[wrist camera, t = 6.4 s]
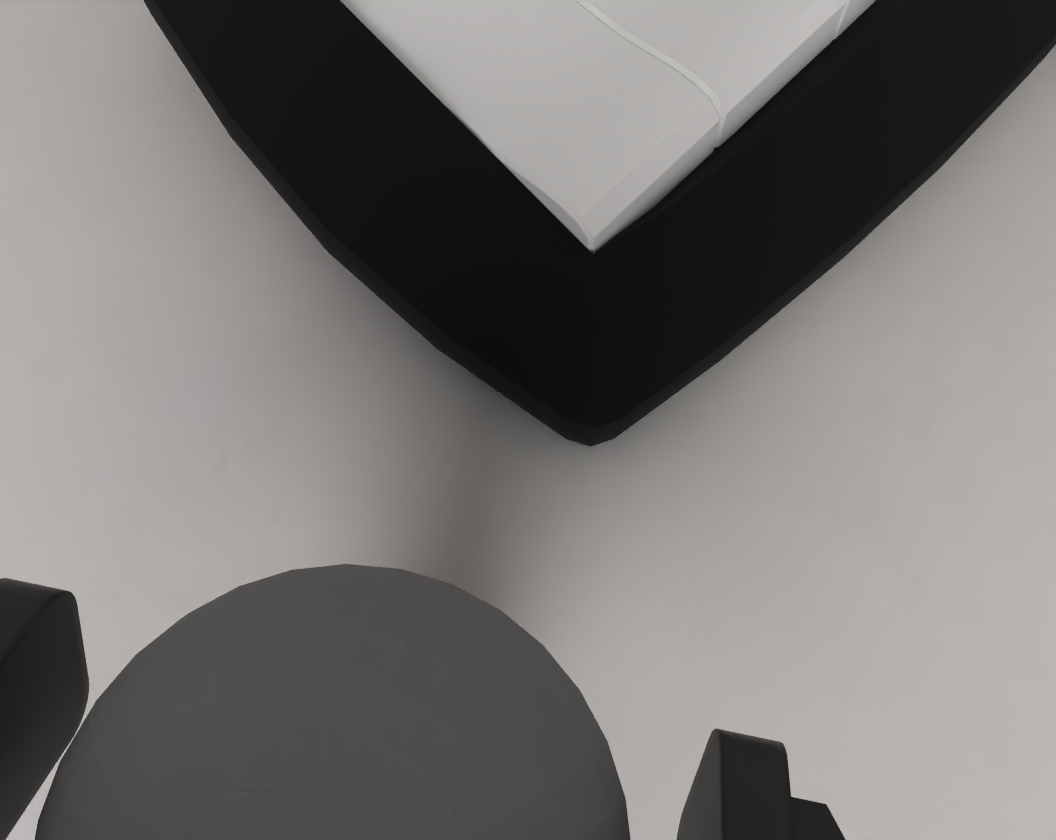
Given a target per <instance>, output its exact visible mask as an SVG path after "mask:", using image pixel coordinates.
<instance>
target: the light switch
mask: <svg viewBox="0 0 1056 840" xmlns="http://www.w3.org/2000/svg"><path fill="white" fill-rule="evenodd" d="M144 2H145V4H146V6H147V7H148V9H149V11H150V13H151V15H152V16H153V18H154V19H155V21H156V22H157V24H158V25H159V27H160V28H161V30H162V32H163V33H164V35H165V36H166V38H167V39H168V41H169V42H170V44H171V45H172V47H173V48H174V50H175V52H176V53H177V55H178V56H179V58H180V59H181V61H182V62H183V64H184V65H185V67H186V68H187V70H188V72H189V73H190V75H191V76H192V78H193V79H194V81H195V82H196V84H197V85H198V87H199V88H200V90H201V92H202V93H203V95H204V96H205V98H206V99H207V101H208V102H209V104H210V105H211V107H212V108H213V110H214V112H215V113H216V115H217V116H218V118H219V119H220V121H221V122H222V124H223V125H224V127H225V128H226V130H227V132H228V133H229V135H230V136H231V138H232V139H233V140H234V141H235V142H236V143H237V145H238V146H239V147H240V148H241V149H242V151H243V152H244V153H245V154H246V155H247V157H248V158H249V159H250V160H251V161H252V162H253V164H254V165H255V166H256V167H257V168H258V170H259V171H260V172H261V173H262V174H263V175H264V177H265V178H266V179H267V180H268V181H269V183H270V184H271V185H272V186H273V187H274V189H275V190H276V191H277V192H278V193H279V194H280V196H281V197H282V198H283V199H284V200H285V202H286V203H287V204H288V205H289V206H290V207H291V209H292V210H293V211H294V212H295V213H296V215H297V216H298V217H299V218H300V219H301V221H302V222H303V223H304V224H305V225H306V226H307V228H308V229H309V230H310V231H311V232H312V234H313V235H314V236H315V237H316V238H317V239H318V241H319V242H320V243H321V244H322V245H323V247H324V248H325V249H326V250H327V251H328V252H329V253H330V254H331V255H332V256H333V257H334V258H335V259H337V260H338V261H339V262H340V263H341V264H342V265H343V266H344V267H346V268H347V269H348V270H349V271H350V272H351V273H352V274H353V275H355V276H356V277H357V278H358V279H359V280H360V281H361V282H362V283H364V284H365V285H366V286H367V287H368V288H369V289H370V290H371V291H373V292H374V293H375V294H376V295H377V296H378V297H379V298H381V299H382V300H383V301H384V302H385V303H386V304H387V305H388V306H390V307H391V308H392V309H393V310H394V311H395V312H396V313H397V314H399V315H400V316H401V317H402V318H403V319H404V320H405V321H406V322H408V323H409V324H410V325H411V326H412V327H413V328H414V329H416V330H417V331H418V332H419V333H420V334H421V335H422V336H423V337H425V338H426V339H427V340H428V341H429V342H430V343H431V344H432V345H434V346H435V347H436V348H437V349H438V350H440V351H441V352H443V353H444V354H446V355H447V356H448V357H450V358H451V359H453V360H454V361H456V362H457V363H458V364H460V365H461V366H463V367H464V368H466V369H467V370H468V371H470V372H471V373H473V374H474V375H476V376H477V377H478V378H480V379H481V380H483V381H484V382H486V383H487V384H488V385H490V386H491V387H493V388H494V389H496V390H497V391H498V392H500V393H501V394H503V395H504V396H506V397H507V398H508V399H510V400H511V401H513V402H514V403H516V404H517V405H519V406H520V407H521V408H523V409H524V410H526V411H527V412H529V413H530V414H531V415H533V416H534V417H536V418H537V419H539V420H540V421H541V422H543V423H544V424H546V425H547V426H549V427H550V428H551V429H553V430H554V431H556V432H557V433H559V434H560V435H561V436H563V437H564V438H566V439H568V440H572V441H575V442H578V443H581V444H584V445H588V446H593V445H596V444H599V443H602V442H605V441H608V440H611V439H614V438H615V437H617V436H618V435H619V434H621V433H622V432H624V431H625V430H626V429H628V428H629V427H630V426H632V425H633V424H634V423H636V422H637V421H638V420H640V419H641V418H643V417H644V416H645V415H647V414H648V413H649V412H651V411H652V410H653V409H655V408H656V407H658V406H659V405H660V404H662V403H663V402H664V401H666V400H667V399H668V398H670V397H671V396H672V395H674V394H675V393H677V392H678V391H679V390H681V389H682V388H683V387H685V386H686V385H687V384H689V383H690V382H691V381H693V380H694V379H696V378H697V377H698V376H700V375H701V374H702V373H704V372H705V371H706V370H708V369H709V368H710V367H712V366H713V365H715V364H716V363H717V362H719V361H720V360H721V359H723V358H724V357H725V356H726V355H727V354H729V353H730V352H731V351H732V350H733V349H735V348H736V347H737V346H738V345H739V344H741V343H742V342H743V341H744V340H745V339H747V338H748V337H749V336H750V335H751V334H753V333H754V332H755V331H756V330H757V329H759V328H760V327H761V326H762V325H763V324H765V323H766V322H767V321H768V320H769V319H771V318H772V317H773V316H774V315H775V314H777V313H778V312H779V311H780V310H781V309H783V308H784V307H785V306H786V305H787V304H789V303H790V302H791V301H792V300H793V299H795V298H796V297H797V296H798V295H799V294H801V293H802V292H803V291H804V290H805V289H807V288H808V287H809V286H810V285H811V284H813V283H814V282H815V281H816V280H817V279H819V278H820V277H821V276H822V275H823V274H825V273H826V272H827V271H828V270H829V269H831V268H832V267H833V266H834V265H835V264H837V263H838V262H839V261H840V260H841V259H843V258H844V257H845V256H846V255H847V254H848V253H849V252H850V251H851V250H852V249H853V248H854V247H855V246H857V245H858V244H859V243H860V242H861V241H862V240H863V239H864V238H865V237H866V236H867V235H868V234H869V233H870V232H872V231H873V230H874V229H875V228H876V227H877V226H878V225H879V224H880V223H881V222H882V221H883V220H884V219H886V218H887V217H888V216H889V215H890V214H891V213H892V212H893V211H894V210H895V209H896V208H897V207H898V206H899V205H901V204H902V203H903V202H904V201H905V200H906V199H907V198H908V197H909V196H910V195H911V194H912V193H913V192H915V191H916V190H917V189H918V188H919V187H920V186H921V185H922V184H923V183H924V182H925V181H926V180H927V179H929V178H930V177H931V176H932V175H933V174H934V173H935V172H936V171H937V170H938V169H939V168H940V167H941V166H942V165H943V164H944V163H945V162H946V161H947V160H948V159H949V158H950V157H951V156H952V155H953V154H954V153H955V152H956V151H957V150H958V148H959V147H960V146H961V145H962V144H963V143H964V142H965V141H966V140H967V139H968V138H969V137H970V136H971V135H972V134H973V133H974V132H975V131H976V130H977V128H978V127H979V126H980V125H981V124H982V123H983V122H984V121H985V120H986V119H987V118H988V117H989V116H990V115H991V114H992V113H993V112H994V111H995V110H996V108H997V107H998V106H999V105H1000V104H1001V103H1002V102H1003V101H1004V100H1005V99H1006V98H1007V97H1008V96H1009V95H1010V94H1011V93H1012V92H1013V91H1014V90H1015V89H1016V87H1017V86H1018V85H1019V84H1020V83H1021V82H1022V81H1023V80H1024V79H1025V78H1026V77H1027V76H1028V75H1029V74H1030V73H1031V72H1032V71H1033V69H1034V68H1035V67H1036V66H1037V65H1038V64H1039V63H1040V62H1041V61H1042V60H1043V59H1044V57H1045V56H1046V55H1047V54H1048V53H1049V52H1050V50H1051V49H1052V48H1053V47H1054V46H1055V45H1056V0H144Z"/></svg>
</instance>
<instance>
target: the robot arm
mask: <svg viewBox="0 0 1056 840" xmlns="http://www.w3.org/2000/svg"><path fill="white" fill-rule="evenodd" d="M88 693H89V678H88V672H87V665H86V659H85V652H84V646H83V639H82V633H81V626H80V620H79V613H78V607H77V602H76V599H75V597H74V595H73V594H72V593H71V592H69V591H65V590H61V589H56V588H51V587H46V586H42V585H37V584H32V583H27V582H22V581H18V580H13V579H8V578H3V579H0V840H6V838H7V837H8V835H9V833H10V832H11V830H12V829H13V827H14V826H15V824H16V823H17V821H18V820H19V818H20V817H21V815H22V814H23V812H24V811H25V809H26V808H27V806H28V805H29V803H30V802H31V800H32V799H33V797H34V796H35V794H36V793H37V791H38V790H39V788H40V787H41V785H42V784H43V782H44V781H45V779H46V778H47V776H48V775H49V773H50V772H51V770H52V768H53V767H54V765H55V764H56V762H57V761H58V759H59V758H60V756H61V755H62V753H63V752H64V750H65V749H66V747H67V746H68V744H69V743H70V741H71V740H72V738H73V736H74V735H75V733H76V731H77V729H78V727H79V725H80V722H81V720H82V717H83V715H84V712H85V708H86V704H87V700H88ZM677 840H845V838H844V836H843V834H842V833H841V831H840V829H839V827H838V825H837V823H836V821H835V820H834V818H833V816H832V814H831V812H830V810H829V809H828V807H827V805H826V804H822V803H817V802H813V801H808V800H803V799H798V798H794V797H791V792H790V781H789V770H788V760H787V753H786V749H785V747H784V745H783V743H781V742H778V741H773V740H768V739H763V738H759V737H754V736H749V735H744V734H739V733H735V732H730V731H725V730H720V729H714V730H713V731H712V733H711V735H710V737H709V740H708V743H707V745H706V748H705V751H704V754H703V756H702V759H701V762H700V765H699V767H698V770H697V773H696V776H695V779H694V781H693V784H692V787H691V790H690V792H689V795H688V798H687V801H686V803H685V806H684V809H683V812H682V816H681V820H680V824H679V829H678V834H677Z"/></svg>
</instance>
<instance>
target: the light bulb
mask: <svg viewBox="0 0 1056 840" xmlns="http://www.w3.org/2000/svg"><path fill="white" fill-rule="evenodd" d="M35 840H630V833H629V824H628V816H627V808H626V800H625V796H624V793H623V790H622V786H621V783H620V780H619V777H618V774H617V771H616V767H615V764H614V761H613V758H612V755H611V751H610V748H609V745H608V742H607V740H606V738H605V736H604V734H603V732H602V731H601V729H600V727H599V725H598V723H597V721H596V719H595V718H594V716H593V714H592V712H591V710H590V708H589V706H588V705H587V703H586V701H585V699H584V697H583V695H582V693H581V692H580V690H579V689H578V687H577V686H576V685H575V684H574V682H573V681H572V680H571V679H570V678H569V676H568V675H567V674H566V673H565V671H564V670H563V669H562V668H561V667H560V665H559V664H558V663H557V662H556V660H555V659H554V658H553V657H552V656H551V654H550V653H549V652H548V651H547V649H546V648H545V647H544V646H543V645H542V644H541V643H540V642H538V641H537V640H536V639H535V638H534V637H532V636H531V635H530V634H529V633H527V632H526V631H525V630H524V629H523V628H521V627H520V626H519V625H518V624H517V623H515V622H514V621H513V620H512V619H510V618H509V617H508V616H507V615H506V614H504V613H503V612H502V611H501V610H499V609H497V608H495V607H493V606H491V605H489V604H488V603H486V602H484V601H482V600H480V599H478V598H476V597H474V596H473V595H471V594H469V593H467V592H465V591H463V590H461V589H460V588H458V587H456V586H454V585H452V584H449V583H445V582H442V581H438V580H435V579H432V578H428V577H425V576H422V575H418V574H415V573H412V572H408V571H405V570H402V569H394V568H383V567H372V566H361V565H350V564H343V565H334V566H324V567H315V568H306V569H297V570H290V571H287V572H284V573H281V574H277V575H274V576H271V577H268V578H264V579H261V580H258V581H255V582H252V583H248V584H245V585H242V586H239V587H237V588H235V589H233V590H231V591H229V592H228V593H226V594H224V595H222V596H220V597H218V598H216V599H214V600H213V601H211V602H209V603H207V604H205V605H203V606H201V607H200V608H198V609H196V610H194V611H192V612H190V613H188V614H187V615H186V616H184V617H183V618H181V619H180V620H179V621H178V622H176V623H175V624H174V625H173V626H171V627H170V628H169V629H168V630H166V631H165V632H164V633H163V634H161V635H160V636H159V637H158V638H156V639H155V640H154V641H153V642H151V643H150V644H149V645H148V646H146V647H145V648H144V649H143V650H141V651H140V652H139V653H138V654H136V655H135V657H134V658H133V659H132V660H131V661H130V662H129V663H128V665H127V666H126V667H125V668H124V669H123V670H122V672H121V673H120V674H119V675H118V676H117V677H116V679H115V680H114V681H113V682H112V683H111V684H110V685H109V687H108V688H107V689H106V690H105V691H104V692H103V694H102V695H101V696H100V697H99V698H98V699H97V701H96V702H95V704H94V706H93V707H92V709H91V711H90V712H89V714H88V716H87V717H86V719H85V721H84V722H83V724H82V726H81V727H80V729H79V731H78V733H77V734H76V736H75V738H74V739H73V741H72V743H71V744H70V746H69V748H68V749H67V751H66V753H65V754H64V756H63V758H62V760H61V761H60V763H59V766H58V769H57V771H56V774H55V777H54V779H53V782H52V785H51V787H50V790H49V793H48V795H47V798H46V801H45V803H44V806H43V809H42V811H41V814H40V817H39V819H38V824H37V830H36V835H35Z"/></svg>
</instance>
